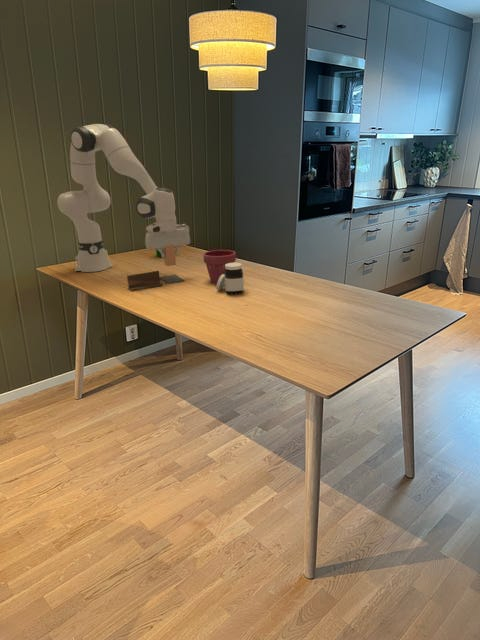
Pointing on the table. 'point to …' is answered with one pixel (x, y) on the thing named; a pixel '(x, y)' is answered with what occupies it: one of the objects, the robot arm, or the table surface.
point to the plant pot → (218, 262)
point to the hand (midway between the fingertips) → (169, 256)
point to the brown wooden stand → (144, 281)
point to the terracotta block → (169, 255)
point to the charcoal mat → (171, 279)
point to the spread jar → (232, 279)
